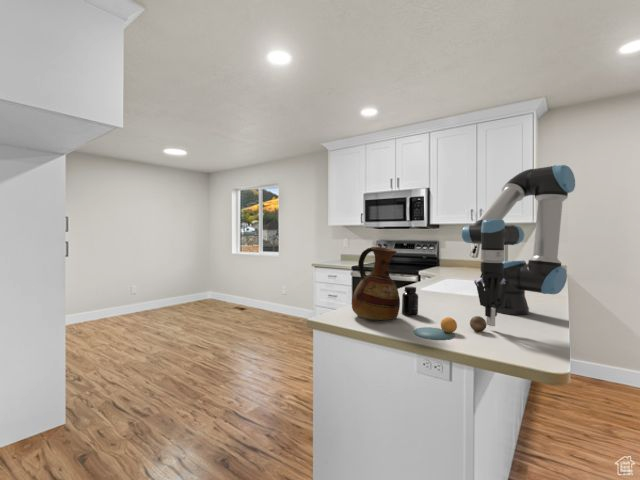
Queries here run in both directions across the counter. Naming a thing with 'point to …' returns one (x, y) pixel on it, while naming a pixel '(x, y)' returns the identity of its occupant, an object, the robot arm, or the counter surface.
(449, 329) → the object ball
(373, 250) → the ceramic pitcher
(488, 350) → the counter surface
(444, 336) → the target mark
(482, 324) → the dark brown ball
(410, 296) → the supplement bottle
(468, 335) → the counter surface
